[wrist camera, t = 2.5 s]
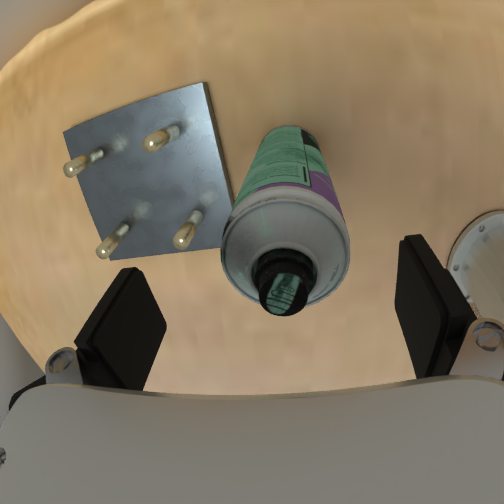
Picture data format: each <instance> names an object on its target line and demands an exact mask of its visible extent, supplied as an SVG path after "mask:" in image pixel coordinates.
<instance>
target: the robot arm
mask: <svg viewBox="0 0 504 504" xmlns="http://www.w3.org/2000/svg"><path fill="white" fill-rule="evenodd" d="M468 302H469V303H474V304H475V306H476V308H477V309H478V311H479V313H480V315H481V317H482V318H480V319H477V318H476V316H475V314H474V312H473V310H472V308H471V307H470V305H469V303H468ZM395 310H396V314H397V317H398V319H399V322H400V325H401V328H402V331H403V335H404V338H405V341H406V344H407V347H408V350H409V354H410V357H411V360H412V364H413V367H414V371H415V374H416V378H417V379H413V380H407V381H401V382H394V383H388V384H381V385H373V386H365V387H357V388H349V389H340V390H330V391H319V392H306V393H290V394H268V395H198V394H176V393H160V392H147V391H143V388H144V386H145V383H146V380H147V378H148V375H149V372H150V370H151V367H152V365H153V362H154V360H155V357H156V355H157V352H158V349H159V347H160V344H161V342H162V339H163V337H164V334H165V332H166V328H167V325H166V321H165V319H164V317H163V315H162V313H161V311H160V309H159V306H158V304H157V302H156V300H155V298H154V296H153V294H152V292H151V289H150V287H149V285H148V283H147V281H146V278H145V276H144V274H143V272H142V271H140V270H139V269H138V268H136V267H131V268H123V269H122V270H121V271H120V272H119V273H118V275H117V276H116V278H115V279H114V281H113V282H112V284H111V285H110V286H109V288H108V289H107V291H106V292H105V294H104V295H103V297H102V298H101V300H100V301H99V303H98V304H97V306H96V307H95V309H94V310H93V312H92V313H91V315H90V317H89V318H88V320H87V321H86V323H85V324H84V326H83V328H82V329H81V331H80V332H79V334H78V336H77V337H76V339H75V340H74V343H75V344H76V346H77V347H78V348H77V350H76V351H75V350H74V349H73V348H71V347H64V348H61V349H59V350H57V351H56V352H54V353H53V354H52V355H51V356H50V357H49V359H48V360H47V363H46V365H45V375H44V376H43V377H41V378H40V379H38V380H36V381H34V382H33V383H31V384H29V385H28V386H26V387H25V388H23V389H21V390H19V391H18V392H16V393H15V394H14V395H13V396H12V398H11V401H10V404H9V412H8V411H7V410H6V411H5V412H4V413H3V414H2V415H1V416H0V504H504V211H493V212H490V213H487V214H485V215H483V216H481V217H479V218H478V219H476V220H475V221H474V222H472V223H471V224H470V225H469V226H468V227H467V228H466V229H465V230H464V231H463V233H462V234H461V235H460V237H459V238H458V240H457V241H456V243H455V245H454V247H453V249H452V251H451V254H450V257H449V261H448V266H447V269H444V268H443V266H442V265H441V263H440V262H439V260H438V259H437V257H436V255H435V254H434V252H433V251H432V249H431V248H430V246H429V245H428V243H427V242H426V240H425V239H424V237H423V236H422V235H421V234H416V235H408V236H405V238H404V240H402V241H400V243H399V258H398V271H397V283H396V293H395Z"/></svg>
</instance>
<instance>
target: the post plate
mask: <svg viewBox="0 0 504 504" xmlns="http://www.w3.org/2000/svg"><path fill="white" fill-rule="evenodd" d="M63 135H64V138H65V142H66V145H67V148H68V151H69V154H70V158H71V161H70V162H68V163H66V164H65V165H64V167H63V171H64V174H65V175H66V176H67V177H69V178H71V177H73V176H75V175H77V178H78V181H79V184H80V187H81V190H82V192H83V195H84V198H85V200H86V203H87V206H88V208H89V211H90V213H91V216H92V218H93V221H94V223H95V226H96V228H97V231H98V233H99V236H100V238H101V240H102V243H101V244H100V245H99V246H98V247H97V248H96V254H97V256H98V257H99V258H101V259H106V258H107V257H108V256H109V258H110V261H111V260H120V259H128V258H136V257H145V256H153V255H161V254H170V253H178V252H187V251H196V250H204V249H213V248H221V244H222V236H223V231H224V227H225V225H226V222H227V220H228V218H229V215H230V213H231V211H232V208H233V206H234V204H235V202H234V198H233V193H232V189H231V185H230V181H229V176H228V172H227V168H226V164H225V159H224V155H223V151H222V147H221V142H220V138H219V134H218V129H217V125H216V121H215V116H214V112H213V108H212V104H211V99H210V95H209V91H208V86H207V82H203V83H198V84H195V85H191V86H187V87H183V88H180V89H176V90H173V91H170V92H166V93H163V94H160V95H157V96H153V97H150V98H147V99H144V100H141V101H138V102H136V103H133V104H130V105H127V106H124V107H122V108H119V109H116V110H114V111H111V112H108V113H106V114H103V115H101V116H98V117H96V118H94V119H91V120H89V121H86V122H84V123H82V124H79V125H77V126H75V127H73V128H71V129H68V130H66V131H64V132H63Z"/></svg>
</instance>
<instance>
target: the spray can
mask: <svg viewBox="0 0 504 504" xmlns="http://www.w3.org/2000/svg"><path fill="white" fill-rule="evenodd" d="M221 263H222V266H223V270H224V272H225V274H226V276H227V278H228V280H229V281H230V283H231V284H232V285H233V286H234V288H235V289H236V290H237V291H239V292H240V293H241V294H242V295H243V296H245V297H246V298H248V299H250V300H251V301H253V302H255V303H258V304H260V305H262V307H263V308H264V309H265V310H266V311H267V312H269V313H271V314H273V315H277V316H290V315H294V314H296V313H298V312H299V311H301V310H302V309H303V308H304V307H307V306H310V305H313V304H315V303H318V302H320V301H321V300H323V299H325V298H326V297H328V296H329V295H330V294H331V293H333V292H334V291H335V290H336V289H337V288H338V286H339V285H340V284H341V282H342V281H343V279H344V277H345V275H346V273H347V271H348V267H349V263H350V239H349V234H348V230H347V227H346V223H345V220H344V217H343V214H342V211H341V208H340V205H339V202H338V199H337V196H336V193H335V190H334V187H333V184H332V182H331V179H330V176H329V173H328V170H327V168H326V165H325V162H324V159H323V157H322V154H321V151H320V149H319V146H318V144H317V142H316V140H315V138H314V137H313V136H312V135H311V134H310V133H309V132H308V131H306V130H305V129H303V128H301V127H298V126H294V125H284V126H280V127H277V128H275V129H273V130H271V131H270V132H269V133H268V134H267V135H266V136H265V137H264V139H263V140H262V142H261V145H260V147H259V149H258V151H257V153H256V156H255V158H254V160H253V162H252V165H251V167H250V169H249V171H248V174H247V176H246V178H245V181H244V183H243V185H242V187H241V190H240V192H239V194H238V197H237V199H236V201H235V204H234V206H233V208H232V211H231V213H230V215H229V218H228V220H227V222H226V225H225V227H224V231H223V236H222V244H221Z"/></svg>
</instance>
